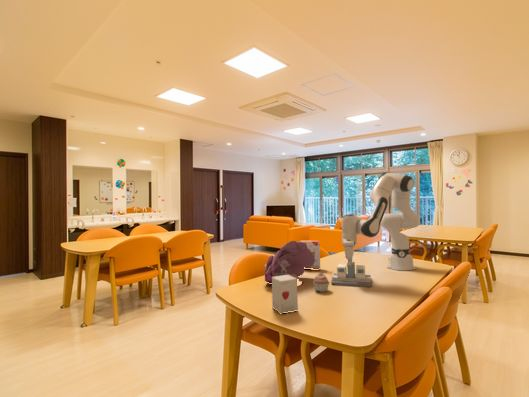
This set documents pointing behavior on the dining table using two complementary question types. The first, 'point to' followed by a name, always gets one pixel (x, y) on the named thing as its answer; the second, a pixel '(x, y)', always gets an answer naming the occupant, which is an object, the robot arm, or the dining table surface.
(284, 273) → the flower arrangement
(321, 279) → the cupcake
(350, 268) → the block
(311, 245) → the cracker box
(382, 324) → the dining table surface
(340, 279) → the rail plate
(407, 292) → the dining table surface
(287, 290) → the supplement box
